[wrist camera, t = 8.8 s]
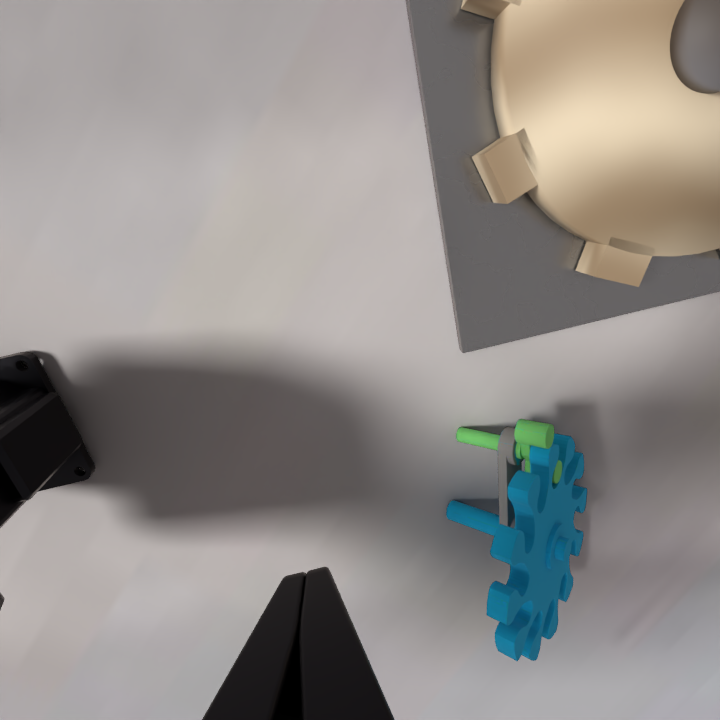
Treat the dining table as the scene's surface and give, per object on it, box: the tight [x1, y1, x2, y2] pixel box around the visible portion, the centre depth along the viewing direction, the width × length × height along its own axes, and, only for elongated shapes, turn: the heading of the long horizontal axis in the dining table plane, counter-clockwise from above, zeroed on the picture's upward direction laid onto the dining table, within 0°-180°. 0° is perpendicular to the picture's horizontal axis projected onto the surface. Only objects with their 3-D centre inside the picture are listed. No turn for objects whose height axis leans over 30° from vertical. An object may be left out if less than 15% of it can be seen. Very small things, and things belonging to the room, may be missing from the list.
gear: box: [446, 419, 587, 661], centre depth 22 cm, size 11×6×10 cm
